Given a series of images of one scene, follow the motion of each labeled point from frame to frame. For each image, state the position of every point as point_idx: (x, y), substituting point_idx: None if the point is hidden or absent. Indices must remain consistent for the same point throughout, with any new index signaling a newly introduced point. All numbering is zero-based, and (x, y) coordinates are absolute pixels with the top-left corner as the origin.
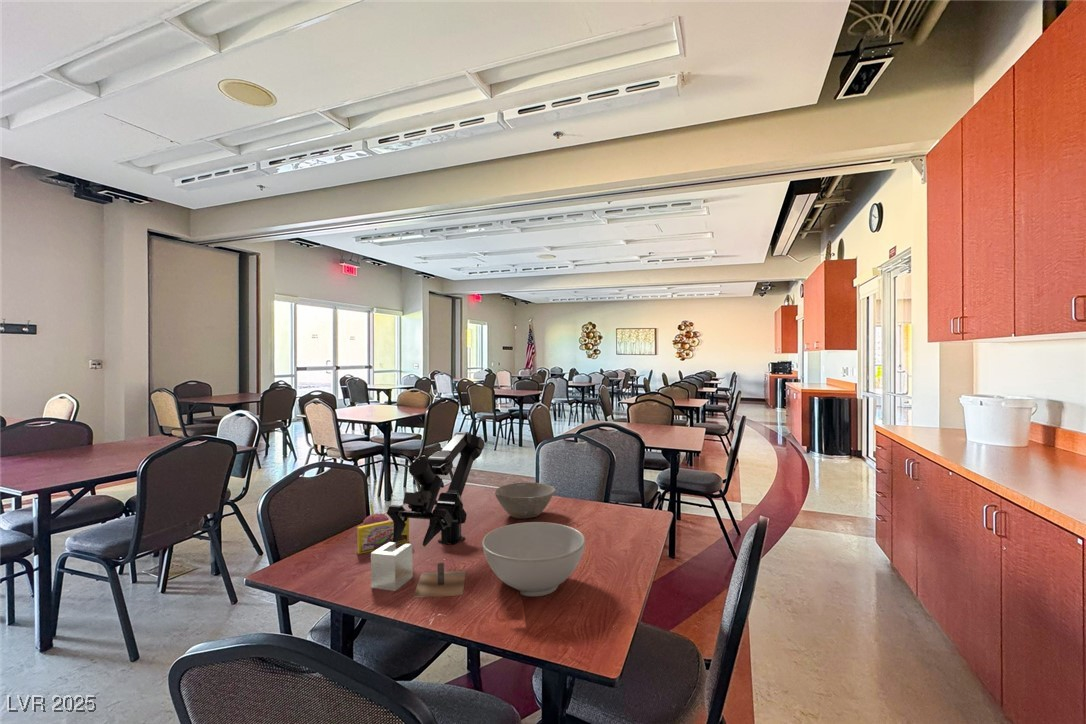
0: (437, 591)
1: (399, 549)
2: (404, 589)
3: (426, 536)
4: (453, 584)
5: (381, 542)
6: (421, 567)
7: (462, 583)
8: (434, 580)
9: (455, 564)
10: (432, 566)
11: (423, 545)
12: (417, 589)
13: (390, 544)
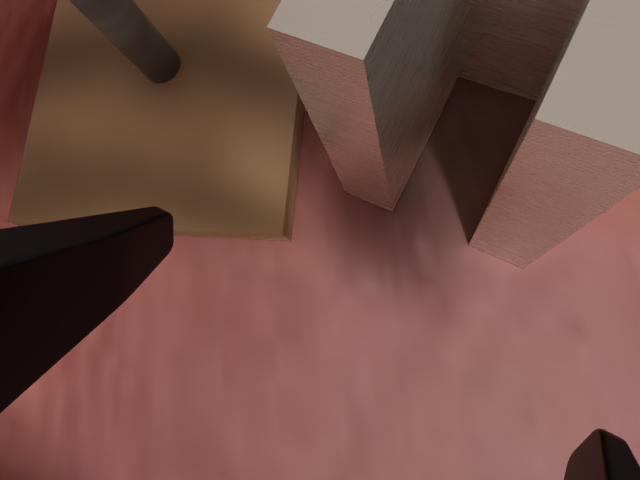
0: None
1: None
2: None
3: (59, 234)
4: (99, 47)
5: None
6: (298, 429)
7: (53, 55)
8: (197, 107)
9: (64, 415)
10: (217, 425)
11: (165, 216)
12: None
13: (608, 36)
